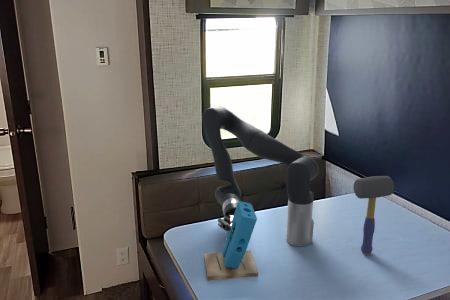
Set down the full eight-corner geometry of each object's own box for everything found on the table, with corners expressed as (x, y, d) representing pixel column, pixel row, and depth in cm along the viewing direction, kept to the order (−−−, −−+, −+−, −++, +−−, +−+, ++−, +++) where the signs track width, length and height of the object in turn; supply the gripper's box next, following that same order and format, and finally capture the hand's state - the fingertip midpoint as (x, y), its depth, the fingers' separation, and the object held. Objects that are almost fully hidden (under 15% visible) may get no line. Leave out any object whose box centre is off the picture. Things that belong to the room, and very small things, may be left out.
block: (239, 272, 146) (257, 220, 140) (225, 269, 145) (242, 216, 139) (234, 252, 157) (251, 203, 152) (221, 249, 156) (237, 200, 151)
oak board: (250, 253, 159) (250, 250, 159) (258, 276, 146) (258, 272, 146) (204, 257, 157) (204, 253, 157) (207, 280, 144) (207, 276, 144)
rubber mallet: (375, 245, 164) (384, 171, 155) (387, 256, 157) (397, 179, 148) (345, 250, 162) (352, 174, 152) (356, 261, 155) (364, 182, 145)
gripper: (214, 203, 162) (219, 224, 146) (251, 201, 163) (260, 222, 147) (214, 221, 164) (219, 244, 148) (251, 219, 166) (259, 242, 149)
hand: (239, 233), depth 148 cm, fingers closed on block, 2 cm apart
